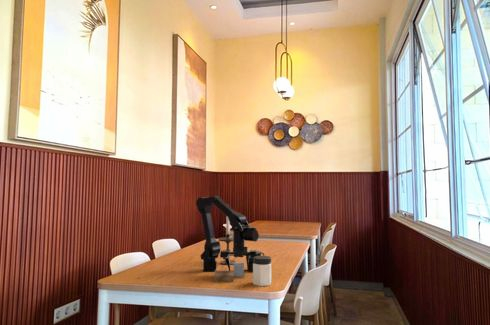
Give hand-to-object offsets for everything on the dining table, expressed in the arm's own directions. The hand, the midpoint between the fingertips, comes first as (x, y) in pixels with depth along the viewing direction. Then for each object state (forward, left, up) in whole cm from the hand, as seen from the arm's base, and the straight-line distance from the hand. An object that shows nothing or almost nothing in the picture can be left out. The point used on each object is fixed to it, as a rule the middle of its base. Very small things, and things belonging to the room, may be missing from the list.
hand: (238, 271), depth 180 cm
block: (0, 0, -2) cm, 2 cm away
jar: (+11, -16, -2) cm, 20 cm away
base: (-7, -8, -2) cm, 11 cm away
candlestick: (-7, +29, -2) cm, 30 cm away
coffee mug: (+9, +11, -2) cm, 14 cm away
